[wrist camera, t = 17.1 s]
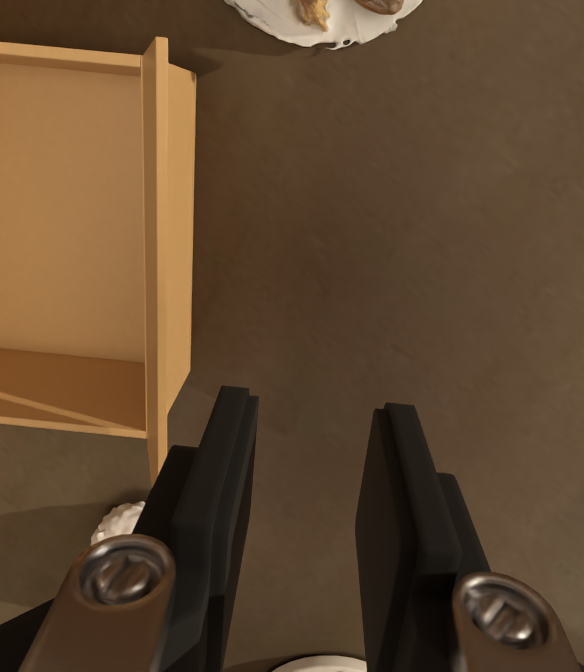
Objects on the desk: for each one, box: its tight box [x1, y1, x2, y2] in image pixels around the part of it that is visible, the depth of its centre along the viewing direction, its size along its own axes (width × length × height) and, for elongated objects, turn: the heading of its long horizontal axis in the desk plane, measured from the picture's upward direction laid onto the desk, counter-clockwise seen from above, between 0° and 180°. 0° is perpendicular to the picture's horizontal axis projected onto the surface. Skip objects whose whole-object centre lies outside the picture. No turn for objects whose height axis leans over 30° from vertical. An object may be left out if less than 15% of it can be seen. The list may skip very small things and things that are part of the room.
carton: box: [0, 42, 196, 439], centre depth 25 cm, size 16×13×7 cm
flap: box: [142, 37, 168, 488], centre depth 18 cm, size 16×6×1 cm
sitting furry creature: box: [91, 501, 145, 545], centre depth 31 cm, size 10×9×12 cm
